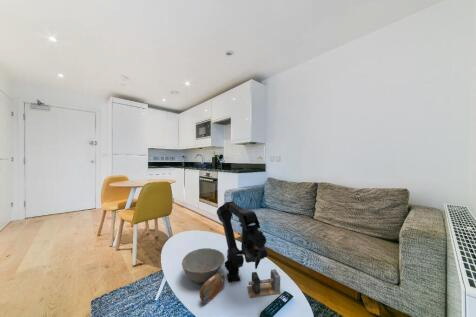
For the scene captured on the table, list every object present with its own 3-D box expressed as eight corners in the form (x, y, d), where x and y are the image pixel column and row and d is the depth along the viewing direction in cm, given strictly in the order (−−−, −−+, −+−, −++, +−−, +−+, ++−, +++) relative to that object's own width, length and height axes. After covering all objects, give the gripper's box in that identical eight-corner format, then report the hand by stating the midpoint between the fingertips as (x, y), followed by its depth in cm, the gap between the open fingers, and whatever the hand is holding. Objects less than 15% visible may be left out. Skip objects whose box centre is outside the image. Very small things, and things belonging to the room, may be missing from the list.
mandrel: (246, 287, 94) (247, 271, 93) (274, 283, 97) (275, 268, 96) (250, 298, 87) (250, 281, 87) (280, 293, 90) (280, 277, 90)
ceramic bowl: (172, 280, 98) (172, 261, 98) (204, 259, 117) (204, 244, 116) (202, 300, 85) (202, 279, 85) (232, 273, 104) (232, 256, 104)
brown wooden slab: (203, 307, 81) (203, 289, 81) (198, 304, 83) (198, 286, 83) (225, 287, 93) (225, 271, 93) (220, 284, 95) (220, 268, 95)
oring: (251, 284, 94) (251, 272, 94) (256, 284, 94) (256, 271, 94) (255, 294, 88) (255, 281, 87) (260, 293, 88) (260, 280, 88)
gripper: (230, 248, 79) (230, 283, 80) (272, 245, 82) (271, 279, 83) (227, 236, 90) (226, 267, 90) (264, 233, 93) (263, 263, 94)
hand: (246, 269), depth 89 cm, fingers open, 9 cm apart
